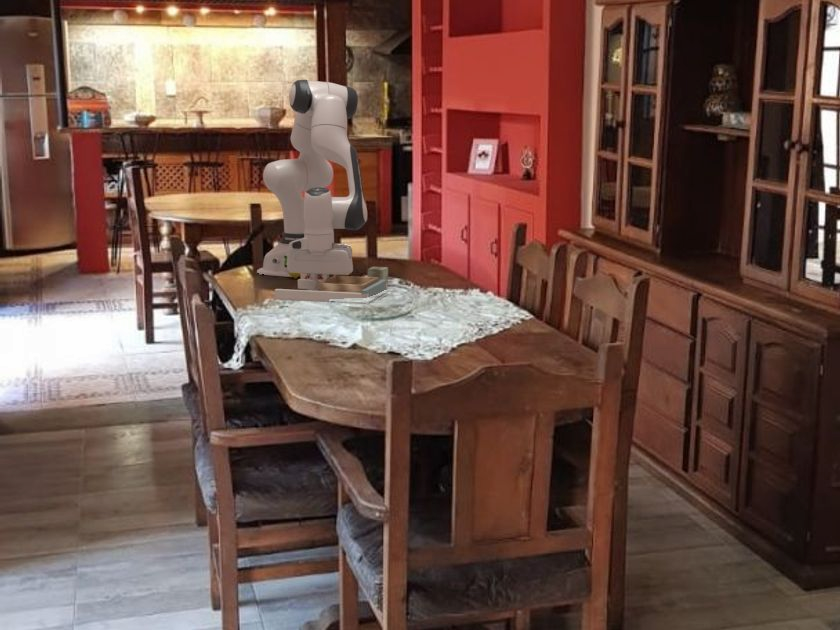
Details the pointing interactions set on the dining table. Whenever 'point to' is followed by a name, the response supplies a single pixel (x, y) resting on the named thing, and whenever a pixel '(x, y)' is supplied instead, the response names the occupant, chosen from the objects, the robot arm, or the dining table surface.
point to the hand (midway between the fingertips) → (320, 288)
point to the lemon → (292, 273)
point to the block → (378, 272)
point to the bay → (326, 292)
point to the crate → (347, 284)
